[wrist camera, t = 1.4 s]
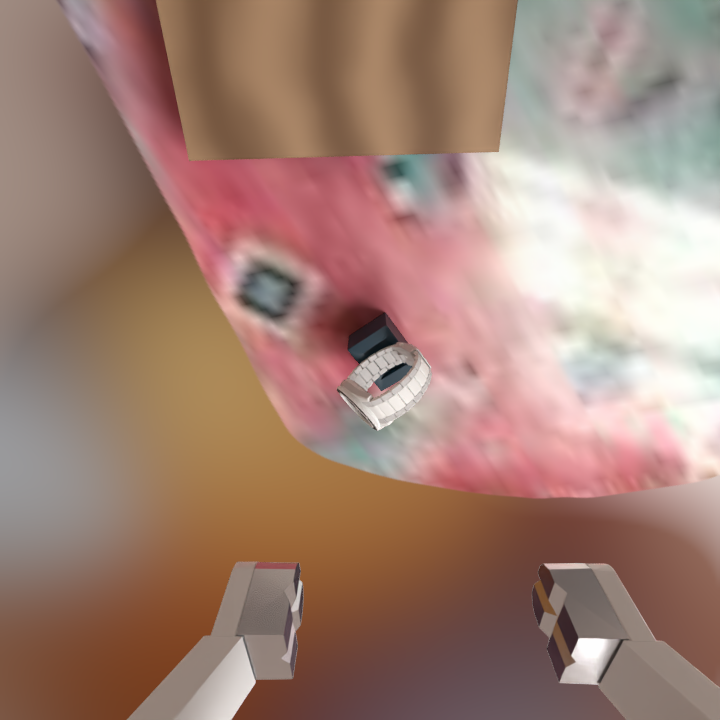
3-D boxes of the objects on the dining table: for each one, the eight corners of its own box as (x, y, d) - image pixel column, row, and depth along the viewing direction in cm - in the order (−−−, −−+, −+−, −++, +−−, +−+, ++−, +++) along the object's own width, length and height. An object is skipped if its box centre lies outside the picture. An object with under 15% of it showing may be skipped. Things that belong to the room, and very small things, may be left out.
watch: (333, 346, 39) (321, 410, 30) (400, 301, 37) (411, 355, 27) (366, 384, 41) (364, 456, 32) (431, 345, 39) (451, 409, 29)
